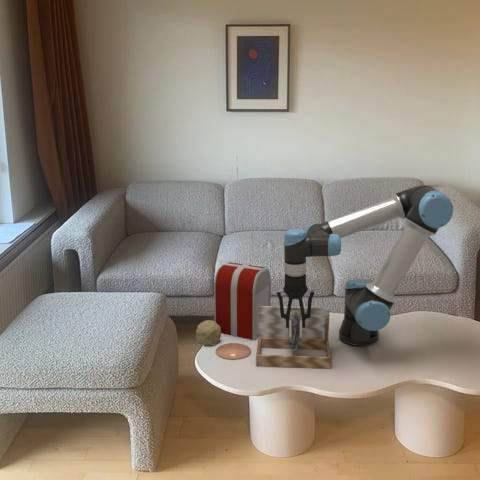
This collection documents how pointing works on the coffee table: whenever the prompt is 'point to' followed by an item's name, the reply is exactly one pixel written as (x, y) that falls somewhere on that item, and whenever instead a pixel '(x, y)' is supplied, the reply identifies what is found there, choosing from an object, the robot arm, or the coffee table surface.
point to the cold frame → (277, 337)
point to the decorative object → (208, 333)
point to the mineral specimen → (294, 329)
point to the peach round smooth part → (233, 351)
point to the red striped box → (240, 298)
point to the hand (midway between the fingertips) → (295, 335)
